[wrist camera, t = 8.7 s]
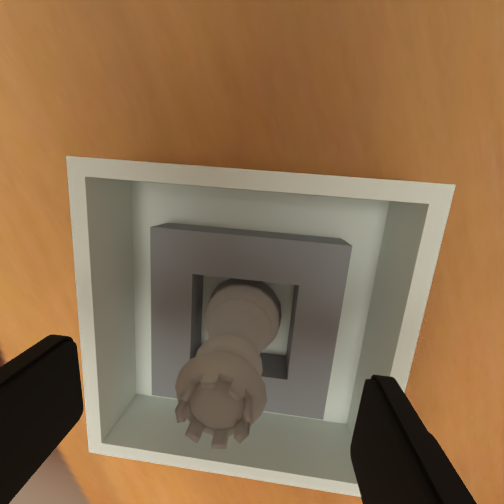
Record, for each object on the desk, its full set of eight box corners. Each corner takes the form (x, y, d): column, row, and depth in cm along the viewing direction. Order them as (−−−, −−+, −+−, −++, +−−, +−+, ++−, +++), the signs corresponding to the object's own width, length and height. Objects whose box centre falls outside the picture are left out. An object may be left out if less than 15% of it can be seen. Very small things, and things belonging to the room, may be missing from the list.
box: (125, 166, 16) (66, 155, 11) (401, 187, 14) (455, 184, 10) (131, 393, 19) (88, 452, 15) (353, 425, 18) (378, 499, 14)
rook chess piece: (296, 315, 16) (315, 432, 8) (240, 353, 17) (208, 492, 9) (249, 258, 15) (220, 325, 7) (195, 301, 16) (117, 400, 8)
